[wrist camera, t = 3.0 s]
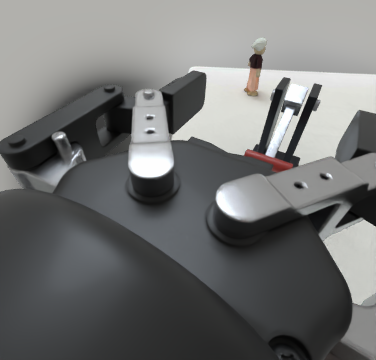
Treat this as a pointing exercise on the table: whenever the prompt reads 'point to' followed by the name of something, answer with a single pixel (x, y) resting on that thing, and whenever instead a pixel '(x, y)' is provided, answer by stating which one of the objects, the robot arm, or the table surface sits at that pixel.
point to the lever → (282, 128)
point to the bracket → (273, 115)
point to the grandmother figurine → (255, 66)
